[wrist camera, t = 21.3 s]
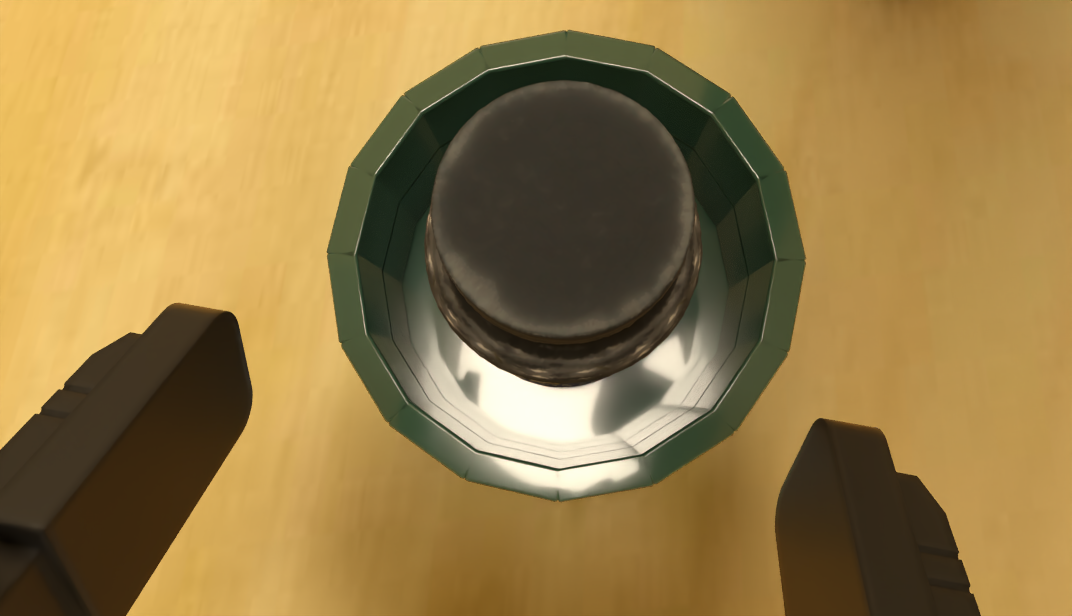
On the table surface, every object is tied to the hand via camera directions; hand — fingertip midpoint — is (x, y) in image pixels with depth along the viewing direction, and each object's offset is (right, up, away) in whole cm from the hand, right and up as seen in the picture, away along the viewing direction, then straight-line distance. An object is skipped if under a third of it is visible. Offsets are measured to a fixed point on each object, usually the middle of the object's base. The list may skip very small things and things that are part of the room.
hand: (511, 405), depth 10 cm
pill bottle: (+1, +2, +14) cm, 14 cm away
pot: (+1, +2, +14) cm, 14 cm away
